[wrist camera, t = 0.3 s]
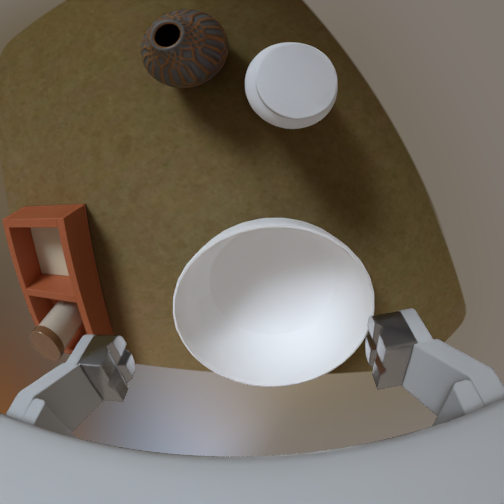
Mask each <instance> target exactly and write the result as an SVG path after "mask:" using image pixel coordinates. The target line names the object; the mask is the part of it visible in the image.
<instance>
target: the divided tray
mask: <svg viewBox="0 0 504 504" xmlns="http://www.w3.org/2000/svg"><path fill="white" fill-rule="evenodd" d="M3 225H4V229H5V233H6V238H7V242H8V246H9V249H10V253H11V257H12V260H13V264H14V267H15V270H16V273H17V277H18V280H19V282H20V286H21V289H22V291H23V294H24V297H25V300H26V302H27V305H28V308H29V311H30V313H31V316H32V318H33V321H34V323H35V326H38V325H39V324H40V322H41V321H42V320H43V319H44V318H45V316H46V315H47V314H48V313H49V312H50V310H51V309H52V308H53V307H54V306H55V304H56V303H57V302H58V301H59V300H62V301H69V302H77V305H78V309H79V312H80V315H81V318H82V321H83V324H82V325H81V327H80V328H79V329H78V331H77V332H76V334H75V335H74V337H73V338H72V340H71V341H70V343H69V344H68V346H67V347H66V349H65V350H64V353H68V354H72V352H73V350H74V349H75V347H76V346H77V344H78V343H79V341H80V339H81V338H82V336H83V335H86V334H95V335H97V334H101V335H114V334H113V331H112V327H111V324H110V320H109V317H108V313H107V309H106V305H105V302H104V298H103V294H102V290H101V285H100V281H99V277H98V272H97V268H96V263H95V258H94V253H93V248H92V242H91V237H90V231H89V225H88V219H87V212H86V205H85V204H70V205H45V206H25V207H23V208H21V209H20V210H18V211H16V212H14V213H13V214H11V215H9V216H8V217H6V218H4V219H3Z"/></svg>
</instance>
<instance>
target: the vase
mask: <svg viewBox="0 0 504 504" xmlns="http://www.w3.org/2000/svg"><path fill="white" fill-rule="evenodd" d="M228 50H229V46H228V39H227V35H226V33H225V31H224V29H223V27H222V26H221V24H220V23H219V22H218V21H217V20H216V19H214V18H213V17H212V16H210V15H208V14H206V13H204V12H201V11H197V10H191V9H182V10H176V11H172V12H169V13H167V14H165V15H163V16H161V17H160V18H158V19H157V20H156V21H154V22H153V23H152V24H151V26H150V27H149V28H148V30H147V31H146V33H145V35H144V37H143V40H142V45H141V56H142V60H143V63H144V65H145V67H146V69H147V71H148V72H149V73H150V74H151V76H153V77H154V78H155V79H156V80H157V81H159V82H161V83H163V84H165V85H168V86H171V87H177V88H190V87H195V86H199V85H201V84H204V83H206V82H207V81H209V80H211V79H212V78H213V77H215V76H216V75H217V74H218V73H219V71H220V70H221V69H222V67H223V66H224V64H225V62H226V59H227V56H228Z"/></svg>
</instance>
